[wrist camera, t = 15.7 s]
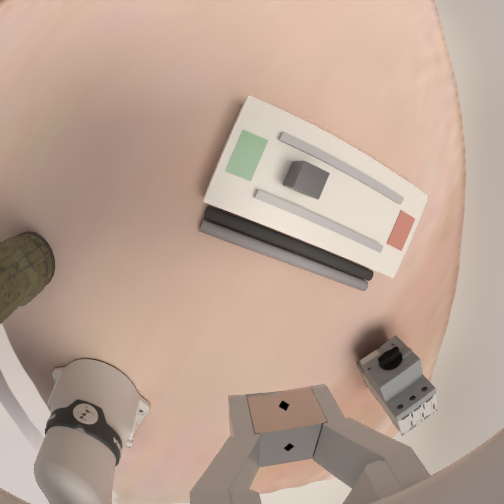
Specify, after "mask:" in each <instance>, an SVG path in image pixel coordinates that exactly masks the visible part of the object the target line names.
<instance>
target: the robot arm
mask: <svg viewBox="0 0 504 504" xmlns="http://www.w3.org/2000/svg"><path fill="white" fill-rule="evenodd" d="M52 377H53V381H54V385H55V386H54V388H53V390H52V393H51V395H50V397H49V400H48V405H49V408H50V411H51V413H52V414H51V416H50V418H49V419H48V421H47V424H46V429H45V435H46V436H45V438H44V441H43V443H42V446H41V448H40V451H39V453H38V456H37V459H36V461H35V464H34V475H35V479H36V482H37V484H38V486H39V487H40V489H41V490H42V492H43V493H44V494H45V496H46V498H47V499H48V501H49V503H50V504H112V488H113V479H114V472H115V467H116V466H117V465H118V463H119V459H120V457H121V454H122V452H121V451H122V447H123V446H126V447H128V448H130V447H131V446H132V443H133V439H134V435H135V434H134V432H135V430H136V429H137V427H138V426H139V424H140V423H141V422H142V420H143V419H144V417H145V416H146V414H147V413H148V411H149V409H150V404H149V402H148V401H146V400H145V399H144V398H143V397H142V396H140V395H139V393H138V392H137V390H136V388H135V386H134V385H133V384H132V382H131V381H130V380H129V379H128V378H127V377H126V376H125V375H124V374H123V373H121V372H120V371H119V370H117V369H116V368H114V367H112V366H110V365H108V364H106V363H103V362H100V361H96V360H91V359H80V360H76V361H73V362H72V363H70V364H69V365H67V366H66V367H59V368H55V369H54V370H53V372H52ZM228 403H229V422H230V434H231V437H229V438H228V439H227V441H226V442H225V444H224V445H223V447H222V448H221V450H220V451H219V452H218V454H217V455H216V457H215V458H214V460H213V461H212V462H211V464H210V465H209V467H208V468H207V469H206V471H205V472H204V474H203V475H202V476H201V478H200V479H199V480H198V482H197V483H196V484H195V486H194V487H193V489H192V490H191V491H190V504H261V500H260V496H259V493H258V492H256V491H254V490H249V488H250V486H251V484H252V482H253V480H254V478H255V476H256V473H257V471H258V469H259V467H264V466H271V465H276V464H282V463H288V462H294V461H301V460H306V459H312V458H313V460H314V461H315V462H317V463H318V464H319V465H321V466H322V467H323V468H325V469H326V470H327V471H328V472H330V473H331V474H333V475H334V476H335V477H337V478H338V479H340V480H341V481H342V482H344V483H345V484H347V485H348V486H349V487H351V488H352V490H351V492H350V493H349V495H348V496H347V498H346V499H345V501H344V503H343V504H504V428H503V429H502V430H501V431H499V432H498V433H497V434H495V435H494V436H493V437H491V438H490V439H489V440H487V441H486V442H485V443H483V444H482V445H480V446H479V447H477V448H476V449H474V450H473V451H471V452H470V453H469V454H467V455H465V456H464V457H462V458H461V459H459V460H458V461H456V462H454V463H453V464H451V465H449V466H447V467H446V468H444V469H442V470H441V471H439V472H437V473H435V474H433V475H431V476H430V474H429V473H428V471H427V470H426V468H425V467H424V465H423V464H422V463H421V461H420V460H419V458H418V457H417V455H416V454H415V453H414V451H413V449H412V448H411V447H409V446H407V445H405V444H403V443H401V442H398V441H396V440H394V439H392V438H390V437H388V436H386V435H383V434H381V433H379V432H377V431H375V430H373V429H371V428H369V427H367V426H365V425H363V424H361V423H359V422H357V421H355V420H353V419H351V418H345V417H344V415H343V414H342V412H341V410H340V408H339V407H338V405H337V403H336V401H335V399H334V398H333V396H332V394H331V392H330V391H329V389H328V387H327V386H326V385H325V384H321V385H316V386H310V387H304V388H298V389H292V390H285V391H277V392H269V393H257V394H246V395H229V396H228ZM0 504H30V503H27V502H25V501H24V500H22V499H20V498H18V497H16V496H14V495H12V494H10V493H9V492H7V491H5V490H3V489H1V488H0Z"/></svg>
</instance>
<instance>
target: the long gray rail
mask: <svg viewBox="0 0 504 504" xmlns="http://www.w3.org/2000/svg"><path fill="white" fill-rule="evenodd" d="M204 218H206V219H208V220H211V221H214V222H216V223H219V224H222V225H224V226H227V227H230V228H233V229H235V230H238V231H241V232H243V233H246V234H249V235H251V236H254V237H257V238H259V239H262V240H265V241H267V242H270V243H272V244H275V245H278V246H280V247H283V248H286V249H288V250H291V251H293V252H296V253H299V254H301V255H304V256H307V257H309V258H312V259H314V260H317V261H319V262H322V263H325V264H327V265H330V266H332V267H335V268H338V269H340V270H343V271H345V272H348V273H350V274H353V275H355V276H358V277H361V278H363V279H366V280H368V281H369V280H371V279H372V277H373V271H371V270H369V269H367V268H364V267H362V266H359V265H357V264H355V263H352V262H350V261H347V260H345V259H343V258H340V257H338V256H335V255H333V254H330V253H328V252H325V251H323V250H321V249H318V248H316V247H313V246H311V245H308V244H306V243H303V242H301V241H298V240H296V239H293V238H291V237H288V236H286V235H283V234H281V233H278V232H275V231H273V230H270V229H268V228H265V227H263V226H260V225H258V224H255V223H252V222H250V221H247V220H245V219H242V218H239V217H237V216H234V215H231V214H229V213H226V212H224V211H221V210H218V209H216V208H213V207H210V206H208V208H207V211H206V213H205V216H204ZM199 231H200V232H203V233H205V234H208V235H211V236H214V237H216V238H219V239H222V240H225V241H227V242H230V243H233V244H236V245H238V246H241V247H244V248H247V249H249V250H252V251H255V252H258V253H260V254H263V255H266V256H269V257H271V258H274V259H277V260H280V261H282V262H285V263H288V264H291V265H293V266H296V267H299V268H302V269H304V270H307V271H310V272H313V273H315V274H318V275H321V276H324V277H326V278H329V279H332V280H335V281H337V282H340V283H343V284H346V285H348V286H351V287H354V288H357V289H359V290H362V291H365V290H366V289H367V287H368V282H367V281H365V280H362V279H360V278H357V277H355V276H352V275H350V274H347V273H344V272H342V271H339V270H337V269H334V268H332V267H329V266H326V265H324V264H321V263H319V262H316V261H313V260H311V259H308V258H306V257H303V256H300V255H298V254H295V253H292V252H290V251H287V250H285V249H282V248H279V247H277V246H274V245H271V244H269V243H266V242H263V241H261V240H258V239H255V238H253V237H250V236H247V235H245V234H242V233H239V232H237V231H234V230H231V229H229V228H226V227H223V226H220V225H218V224H215V223H212V222H210V221H207V220H204V219H203V221H202V224H201V227H200V230H199Z"/></svg>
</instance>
